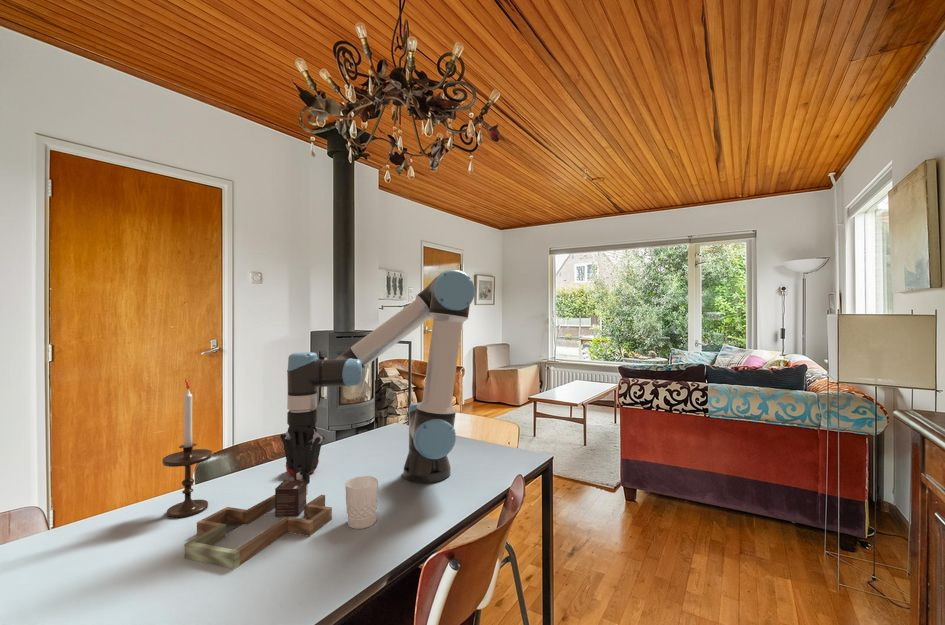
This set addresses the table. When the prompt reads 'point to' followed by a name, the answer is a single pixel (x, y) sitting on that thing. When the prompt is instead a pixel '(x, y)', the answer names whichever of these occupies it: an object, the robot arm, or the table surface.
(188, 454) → the candlestick
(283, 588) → the table surface
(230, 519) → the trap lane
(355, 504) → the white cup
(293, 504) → the box
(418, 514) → the table surface
